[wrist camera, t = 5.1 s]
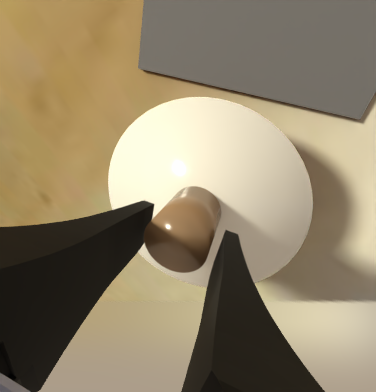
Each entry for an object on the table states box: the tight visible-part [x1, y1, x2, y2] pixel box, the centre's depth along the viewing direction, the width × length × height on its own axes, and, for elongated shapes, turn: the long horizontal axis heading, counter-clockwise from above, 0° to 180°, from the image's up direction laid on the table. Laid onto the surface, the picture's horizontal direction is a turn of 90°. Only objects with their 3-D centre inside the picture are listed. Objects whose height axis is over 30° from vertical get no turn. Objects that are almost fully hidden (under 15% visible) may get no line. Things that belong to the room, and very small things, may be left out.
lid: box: [108, 97, 313, 287], centre depth 11 cm, size 12×12×4 cm
